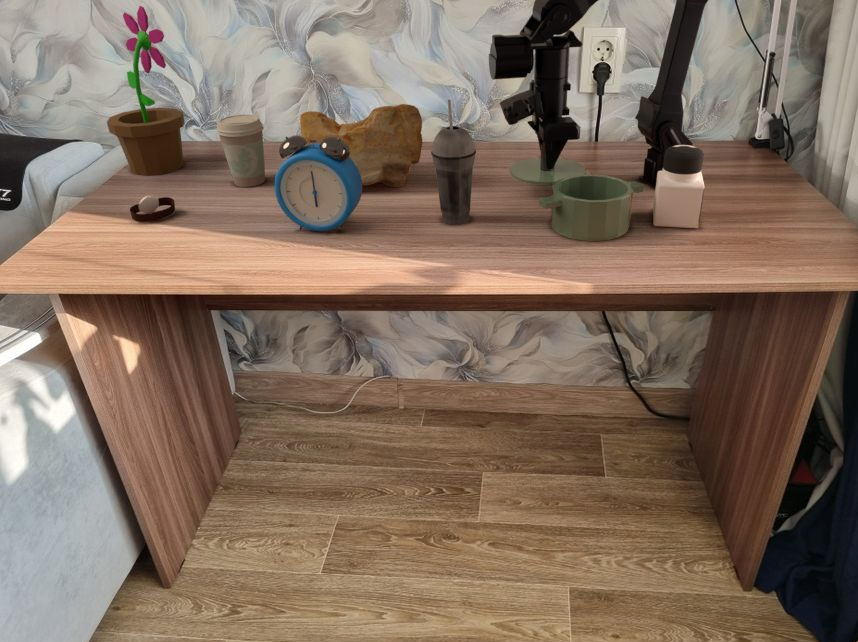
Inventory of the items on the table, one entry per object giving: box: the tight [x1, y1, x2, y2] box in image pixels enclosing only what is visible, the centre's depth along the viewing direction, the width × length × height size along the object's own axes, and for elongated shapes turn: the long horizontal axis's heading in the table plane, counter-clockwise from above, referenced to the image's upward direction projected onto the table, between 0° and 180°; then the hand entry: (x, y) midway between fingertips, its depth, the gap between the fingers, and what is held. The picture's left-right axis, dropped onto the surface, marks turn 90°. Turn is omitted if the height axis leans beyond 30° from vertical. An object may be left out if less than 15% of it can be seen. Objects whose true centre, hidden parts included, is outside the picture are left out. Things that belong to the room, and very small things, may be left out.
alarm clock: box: [274, 135, 363, 233], centre depth 118 cm, size 13×6×15 cm, turn 81°
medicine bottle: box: [652, 145, 706, 229], centre depth 118 cm, size 7×7×12 cm
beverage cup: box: [430, 99, 477, 226], centre depth 118 cm, size 7×7×20 cm
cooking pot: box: [538, 174, 644, 242], centre depth 118 cm, size 13×18×6 cm
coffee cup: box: [216, 113, 266, 188], centre depth 139 cm, size 8×8×12 cm
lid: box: [509, 143, 586, 186], centre depth 131 cm, size 14×14×6 cm
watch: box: [129, 194, 176, 223], centre depth 126 cm, size 8×5×4 cm, turn 135°
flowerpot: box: [106, 5, 186, 176], centre depth 143 cm, size 14×14×30 cm
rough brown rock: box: [299, 103, 423, 188], centre depth 138 cm, size 23×17×15 cm
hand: (547, 166), depth 131 cm, fingers closed on lid, 3 cm apart
